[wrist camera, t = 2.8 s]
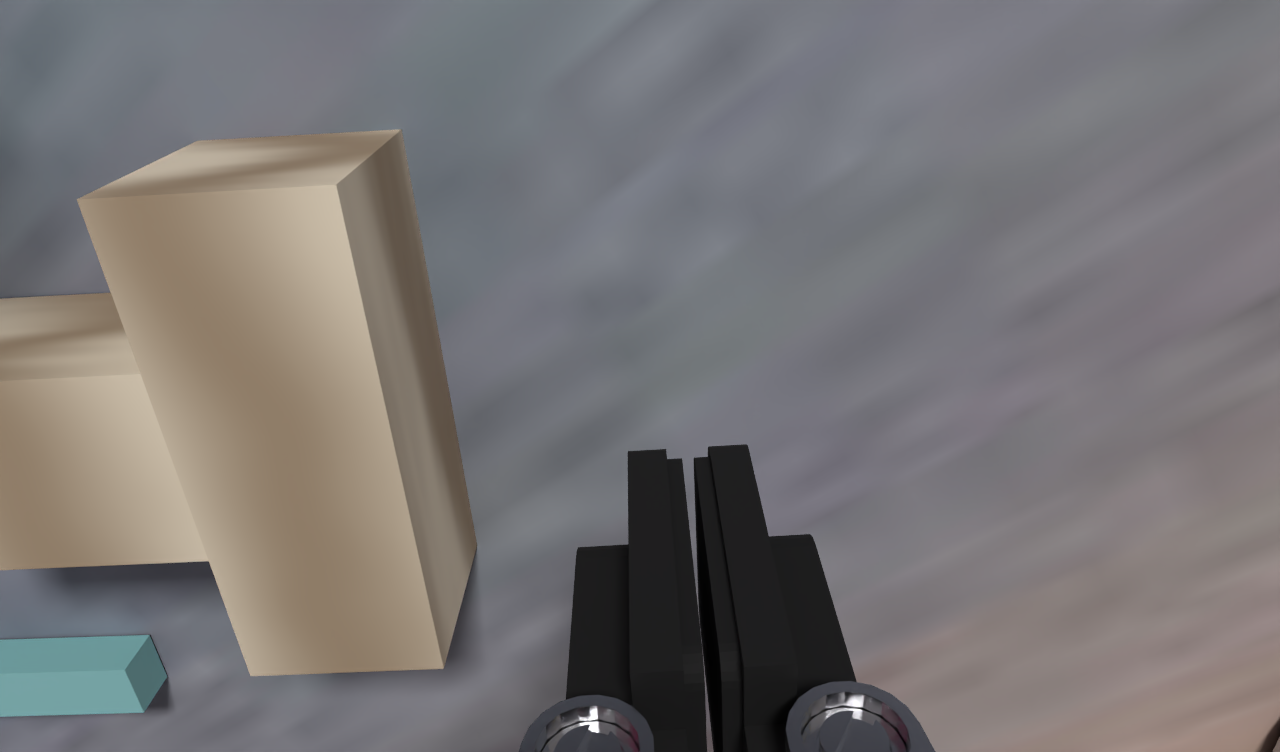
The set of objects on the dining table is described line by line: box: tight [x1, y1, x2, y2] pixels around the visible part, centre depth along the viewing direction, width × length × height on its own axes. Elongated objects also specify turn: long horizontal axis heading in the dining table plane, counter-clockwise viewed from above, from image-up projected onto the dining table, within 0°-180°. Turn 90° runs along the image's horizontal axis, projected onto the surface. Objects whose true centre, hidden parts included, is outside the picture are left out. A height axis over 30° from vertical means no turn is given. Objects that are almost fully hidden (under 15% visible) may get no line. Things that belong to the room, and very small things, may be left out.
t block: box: [0, 129, 477, 676], centre depth 17 cm, size 10×10×4 cm
